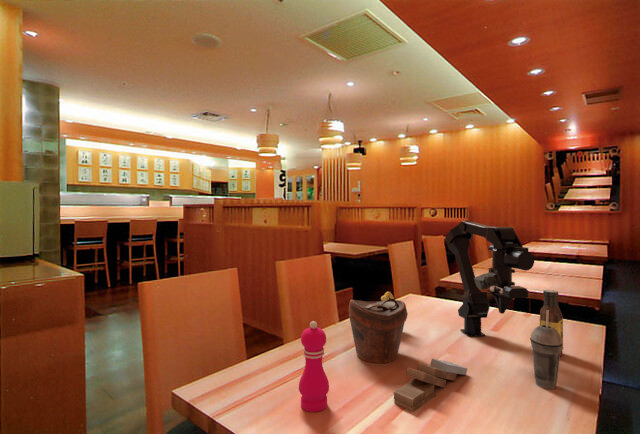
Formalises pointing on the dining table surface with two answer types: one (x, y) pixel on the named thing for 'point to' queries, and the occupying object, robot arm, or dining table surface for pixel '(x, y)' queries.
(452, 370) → the domino
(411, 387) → the domino
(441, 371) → the domino
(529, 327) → the dining table surface
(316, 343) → the pepper mill
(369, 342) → the brown wooden tapered container
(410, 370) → the domino
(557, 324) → the sauce bottle
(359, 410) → the dining table surface
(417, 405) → the domino
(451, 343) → the dining table surface
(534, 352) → the beverage cup
